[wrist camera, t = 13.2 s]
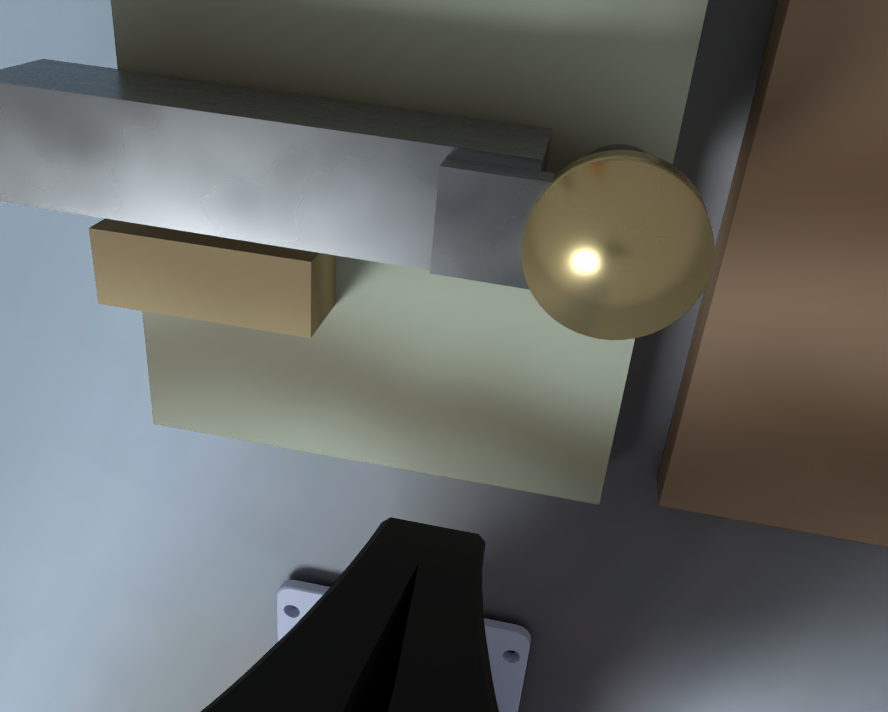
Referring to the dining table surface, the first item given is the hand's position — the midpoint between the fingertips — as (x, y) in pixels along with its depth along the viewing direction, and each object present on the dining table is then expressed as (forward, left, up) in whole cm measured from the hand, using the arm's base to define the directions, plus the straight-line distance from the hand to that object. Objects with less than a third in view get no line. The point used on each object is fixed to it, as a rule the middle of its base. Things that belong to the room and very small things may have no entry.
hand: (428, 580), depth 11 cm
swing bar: (+3, +3, -8) cm, 10 cm away
